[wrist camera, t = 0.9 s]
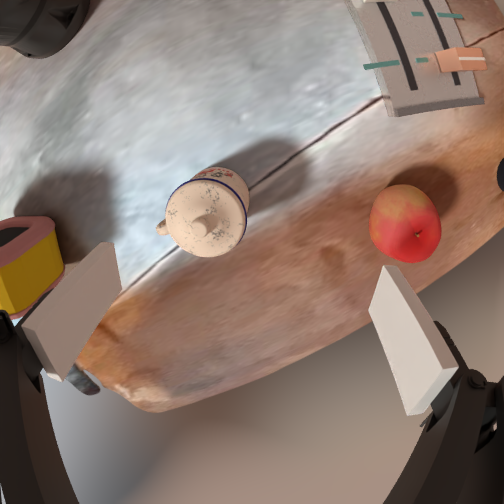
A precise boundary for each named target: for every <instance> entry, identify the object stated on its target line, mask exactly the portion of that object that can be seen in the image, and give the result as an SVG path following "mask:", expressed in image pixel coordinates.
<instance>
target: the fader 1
mask: <svg viewBox="0 0 504 504" xmlns="http://www.w3.org/2000/svg"><path fill="white" fill-rule="evenodd" d="M395 1H398V0H363V2H364V3H369V2H395Z"/></svg>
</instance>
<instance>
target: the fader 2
mask: <svg viewBox="0 0 504 504" xmlns="http://www.w3.org/2000/svg"><path fill="white" fill-rule="evenodd" d="M435 53H436V56H437V58H438V61H439V64H440V67H441V71H442V73H444V72H463V71H477V70H487V66H486V63H485V57H484V56H483V53H482V50H481V48H464V47H454V48H450V49H446V50H442V51H438V52H435Z"/></svg>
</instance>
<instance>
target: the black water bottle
mask: <svg viewBox="0 0 504 504" xmlns="http://www.w3.org/2000/svg"><path fill="white" fill-rule="evenodd" d="M497 181H498V185H499V187H500V189H501V190H502V191H504V159H502V161H501V162H500V164H499V166H498V171H497Z"/></svg>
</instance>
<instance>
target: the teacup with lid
mask: <svg viewBox="0 0 504 504" xmlns="http://www.w3.org/2000/svg"><path fill="white" fill-rule="evenodd" d="M249 200H250V199H249V191H248V188H247V186H246V184H245V182H244V181H243V179H242V178H241V177H240V176H239V175H238V174H237V173H235V172H234V171H232V170H230V169H227V168H223V167H211V168H207V169H204V170H202V171H201V172H199V173H198V174H196V175H195V176H194V177H193V178H192V179H190V180H189V181H187V182H185V183H183V184H182V185H180V186H179V187H178V188H177V189H176V190H175V191H174V192H173V193H172V195H171V196H170V198H169V200H168V203H167V206H166V215H165V216H166V219H164V220H163V221H161V222H160V223H159V224H158V225H157V227H156V230H157V233H158V234H159V235H167V234H170V235H171V237H172V238H173V240H174V241H175V242H176V243H177V244H178V245H179V246H180V247H181V248H182V249H184V250H185V251H187V252H189V253H191V254H194V255H197V256H201V257H215V256H219V255H222V254H225V253H227V252H228V251H230V250H232V249H233V248H234V247H235V246H236V245H237V244H238V243H239V242H240V241H241V239H242V237H243V235H244V233H245V230H246V226H247V211H248V207H249Z"/></svg>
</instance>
